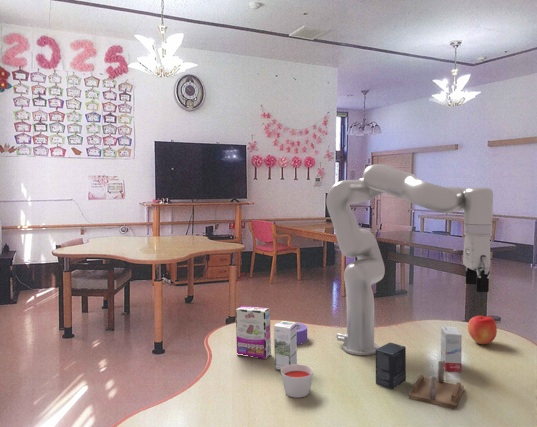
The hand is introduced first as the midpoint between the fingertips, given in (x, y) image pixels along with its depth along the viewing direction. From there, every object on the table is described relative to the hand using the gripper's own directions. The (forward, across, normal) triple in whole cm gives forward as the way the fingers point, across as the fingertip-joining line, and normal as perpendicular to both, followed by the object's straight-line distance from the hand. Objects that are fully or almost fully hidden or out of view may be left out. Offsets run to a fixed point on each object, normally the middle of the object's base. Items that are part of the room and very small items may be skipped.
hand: (476, 287), depth 132 cm
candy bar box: (+28, -12, -69) cm, 75 cm away
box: (+28, +6, -25) cm, 38 cm away
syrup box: (+28, -2, -57) cm, 63 cm away
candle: (+28, +14, -52) cm, 61 cm away
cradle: (+27, +12, -14) cm, 33 cm away
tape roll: (+28, -29, -57) cm, 70 cm away
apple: (+28, -30, +12) cm, 43 cm away
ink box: (+28, -8, -5) cm, 29 cm away
